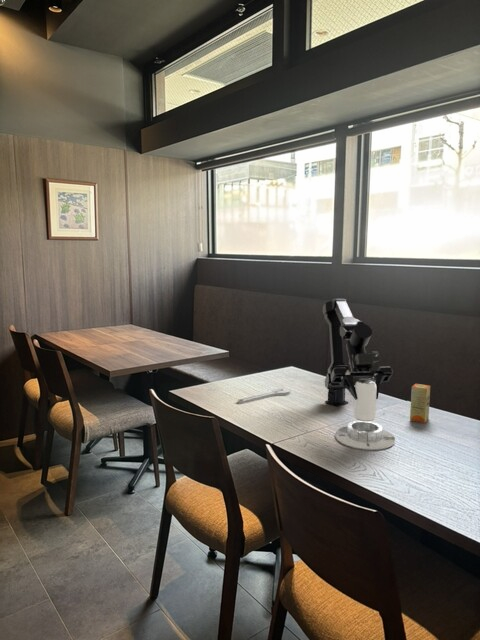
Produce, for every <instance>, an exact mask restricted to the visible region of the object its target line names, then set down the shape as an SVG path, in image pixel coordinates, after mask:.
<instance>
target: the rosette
mask: <svg viewBox="0 0 480 640" xmlns="http://www.w3.org/2000/svg"><path fill="white" fill-rule="evenodd" d="M334 436H335V440H336V441H337V442H338V443H340V444H341V445H343V446H346V447H347V448H352V449H354V450H355V449H356V450H360V451H383V450H387V449H390V448H392V447H393V446H394V445H395V443H396V442H395V441H396V439H395V438H396V437H395V436H394V435H393V434H392V433H391V432H390V431H388V430H385V429H383V426H382V425H381V424H379V423H377V422H374V421H360V420H354V421H351V422H348V424H347V426H343V427H341V428H338V429H337V430H336V431H335V433H334Z"/></svg>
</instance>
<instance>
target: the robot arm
mask: <svg viewBox="0 0 480 640" xmlns="http://www.w3.org/2000/svg"><path fill="white" fill-rule="evenodd" d="M322 314H323V315H324V320H325V322H326V323H327V325H328V327H329V328H328V329H329V343H330V344H329V345H330V357H331V363H330V365H329V367H328V368H327V374H326V375H325V379H324V387H325V388H326V389H327V391H328V392H327V400H325V401H324V403H326V404H329V405H333V406H335V407H339V406H340V407H341V406H342V405H346V404H347V405H348V404H349V401H347V400H346V390H348V392H349V393H350V395H351V396H352V397H353V399H354V401H355V400H357V394H356V389H355V383H354V378H371V379H373V380H375V384H376V386H377V393H376V400H378V398H379V392H380V385H381V384H382V383H387V382H390V380H391V378H392V377H393V375H394V370H393V368H392V367H391V366H389V365H388V366H387V365H386V366H378V368H377V370H370V369H372V368H373V365H374V364H375V363H378V362H379V361H380V354H379V351H377V350H376V351H375V350H374V351H372V352H369V353H368V352H367V350H366V348H365V347H367V345H368V343H369V342H370V339H371V337H372V335H373V329H372V328H371V327H370V326H369V325H368V324H366V323H365V321H362V320H359V319H357V318H355V317H354V315H353V313H352V311H351V309H350V307H349V305H348V300H347V299H345V298H333V299H331V300H329V301H327V302H325V303H324V304H323V305H322ZM343 340H346V341H347V342H346V344H345V347H346V348H345V349H346V351H347V356H348V365H349V366H348V365H346V363H345V362H344V350H343V349H344V348H343V346H344V345H343ZM349 367H350V370H349Z"/></svg>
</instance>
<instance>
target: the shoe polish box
mask: <svg viewBox="0 0 480 640" xmlns="http://www.w3.org/2000/svg"><path fill="white" fill-rule="evenodd" d="M430 398H431V385H428V384H420V383H415V384H413V385H412V386H411V393H410V412H409V414H410V415H409V421H410V420H412V421H411V422H415V421H417V422H416V423H420V422H422V424H426V423H427V421H428V420H429V417H430V402H431V401H430ZM425 422H426V423H425Z"/></svg>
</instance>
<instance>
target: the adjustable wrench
mask: <svg viewBox="0 0 480 640" xmlns="http://www.w3.org/2000/svg"><path fill="white" fill-rule="evenodd" d="M289 395H291V389H287V390H284V388H283V387H282V388H274V389H273V390H271V391H269V392H265V393H260V394H257V395H253V396H248V397H244V398H240V399H237V404H238V403H240V404H241V405H243V404H246V403H250V402H255V401H260V400H264V399H268V398H272V397H278V396H281V397H282V396H289ZM240 404H239V405H240Z"/></svg>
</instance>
